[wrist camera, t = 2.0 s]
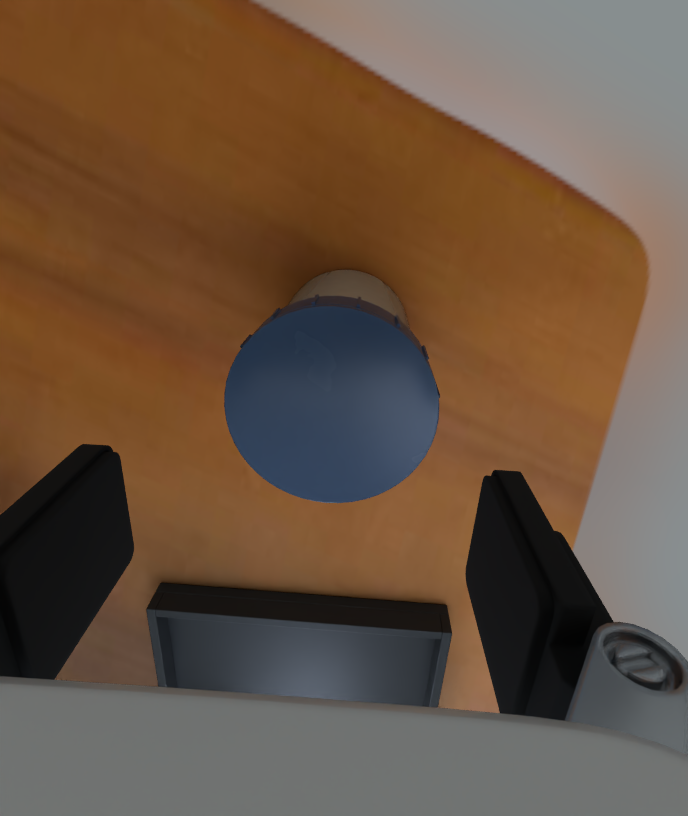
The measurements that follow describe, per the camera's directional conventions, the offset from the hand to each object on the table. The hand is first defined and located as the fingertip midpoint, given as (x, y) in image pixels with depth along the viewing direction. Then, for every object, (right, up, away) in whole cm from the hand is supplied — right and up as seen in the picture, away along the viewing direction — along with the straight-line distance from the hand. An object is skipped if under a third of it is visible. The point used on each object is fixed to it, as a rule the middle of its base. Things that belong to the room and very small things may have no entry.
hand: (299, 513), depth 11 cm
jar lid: (+1, +2, +5) cm, 6 cm away
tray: (-2, -16, +24) cm, 29 cm away
